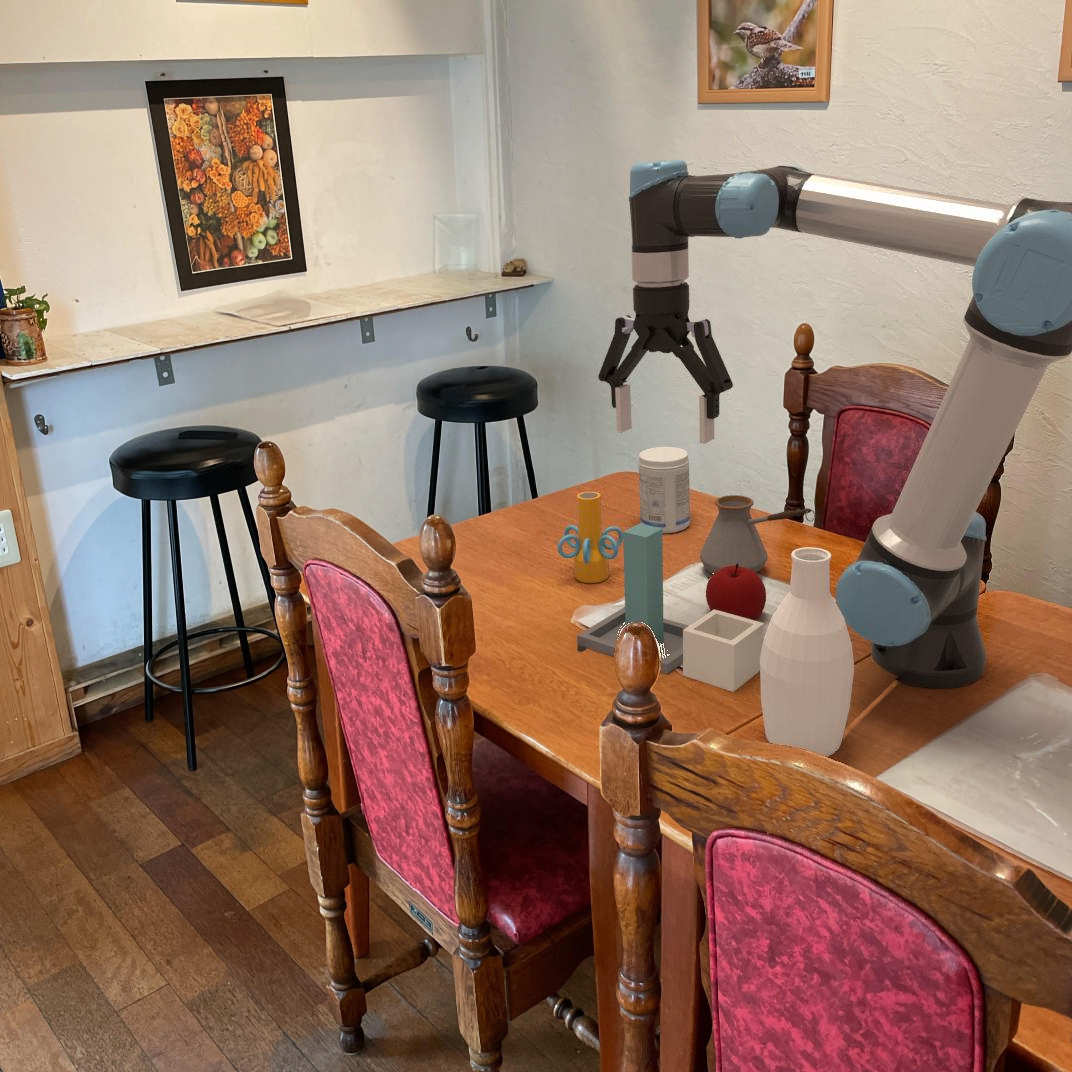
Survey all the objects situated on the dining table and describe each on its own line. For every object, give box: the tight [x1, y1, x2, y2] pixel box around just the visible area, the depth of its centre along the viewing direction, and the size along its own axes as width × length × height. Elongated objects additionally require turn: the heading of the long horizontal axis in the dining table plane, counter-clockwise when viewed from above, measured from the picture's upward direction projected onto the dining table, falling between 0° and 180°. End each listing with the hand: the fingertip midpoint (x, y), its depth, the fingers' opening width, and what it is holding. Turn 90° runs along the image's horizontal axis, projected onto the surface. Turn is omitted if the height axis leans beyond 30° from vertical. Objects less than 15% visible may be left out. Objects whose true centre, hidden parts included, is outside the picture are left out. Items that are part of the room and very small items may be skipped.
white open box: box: [682, 610, 765, 693], centre depth 147 cm, size 8×8×8 cm
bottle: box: [759, 546, 855, 758], centre depth 128 cm, size 11×11×25 cm
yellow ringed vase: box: [557, 491, 623, 584], centre depth 181 cm, size 12×10×15 cm
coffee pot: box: [699, 494, 816, 574], centre depth 177 cm, size 21×12×15 cm, turn 41°
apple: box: [705, 564, 767, 621], centre depth 164 cm, size 9×9×10 cm
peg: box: [622, 522, 664, 644], centre depth 154 cm, size 4×4×18 cm
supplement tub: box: [638, 446, 691, 534], centre depth 203 cm, size 10×10×15 cm
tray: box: [576, 606, 689, 675], centre depth 158 cm, size 16×12×2 cm
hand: (664, 435), depth 150 cm, fingers open, 13 cm apart
